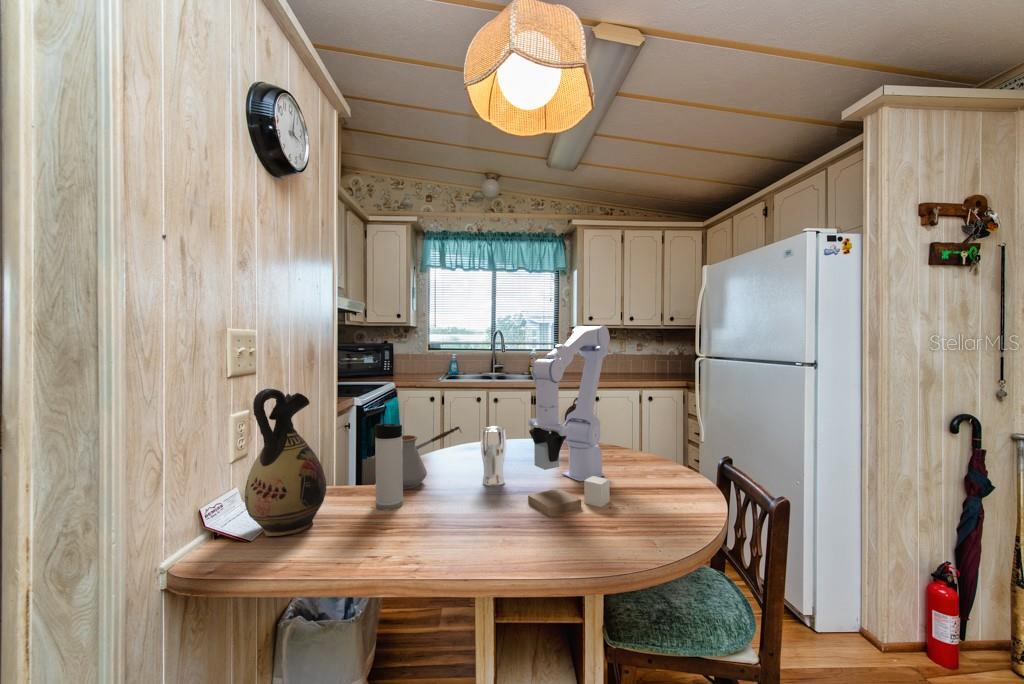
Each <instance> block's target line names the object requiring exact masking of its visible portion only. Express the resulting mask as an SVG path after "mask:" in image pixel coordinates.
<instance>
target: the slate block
mask: <svg viewBox="0 0 1024 684" xmlns="http://www.w3.org/2000/svg"><path fill="white" fill-rule="evenodd" d="M533 449H534V451H533V452H534V466H535V467H537V468H539V469H542V470H544V471H545V470H551V469H556V468H560V455H559V456H558V460H557V461H554V462H550V461H549V455H548V446H547V442H544V443H538V444H534V448H533Z"/></svg>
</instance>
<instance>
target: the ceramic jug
mask: <svg viewBox="0 0 1024 684" xmlns="http://www.w3.org/2000/svg"><path fill="white" fill-rule="evenodd" d="M271 399H275V405H274V407H273V408H272V410H271V413H270V414H269V415H268V416H267V415H266V414H267V413H266V410H265V403H266V402H267V401H268V400H271ZM310 403H311V402H310V400H309V398H308V397H306V395H304V394H303V393H300V392H296V393H295V394H292V395H291V394H290V393H287V394H286V395H285V393H283V391H281V390H279V389H276V388H264V389H262V390H260V392H258V393H257V394H256V395H255V397H254V398H253V404H252V405H253V406H252V408H253V409H252V410H253V415H254V417H255V421H256V423H257V425H258V428H259V432H260V434H261V435H262V437H263V438H262V439H263V446H262V449H260V452H259V453H258V455H257V457H256V459H254V460H255V461H253V464H252V466H251V468H250V471H249V473H248V476H247V479H246V484H245V490H244V506H245V510H246V512H247V513H248V515H249V517H250V518H251V519H252V520H253V521H255V522H256V523H257V524H258V525H259V526H260V527H261V528H262V529H263V531H264V535H265V536H266V537H274V536H278V537H279V536H284V535H285V536H286V535H293V534H294V535H295V534H298V533H300V532H302V531H305V530H307V529H310V528H312V527H313V526H314V522H313V521H314V519H315V516H316V515H317V513H318V511H319V510H320V508H321V507H322V505H323V503H324V501H325V500H324V499H325V496H326V494H327V479H326V475H325V471H324V469H323V465H322V463H321V461H320V459H319V457H317V456H318V455H316V453H315V452H314V451H313V449H312V448H311V447H310V445H309V444H308V443H307V441H305V439H304V438H303V437H302V436H301V435H300V434H299V433H298V431H297V430H296V429H295V428H294V423H293V419H292V418H293V416H295V415H296V414H297V413H298V412H300V411H302V410H303V409H304V408H306V407H307V406H309V405H310ZM268 419H269V420H271V421H275V422H274V427H273V429H272V427H271V424H270V422H269V420H268Z"/></svg>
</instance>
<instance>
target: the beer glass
mask: <svg viewBox="0 0 1024 684" xmlns="http://www.w3.org/2000/svg"><path fill="white" fill-rule="evenodd" d="M480 430H481V432H480V451H481V452H480V454H481V459H482V463H483V476H482V484H483V485H484V486H487V487H499V486H503V485H505V483H506V482H505V476H504V463H505V457H506V451H507V438H506V428H505V427H503V426H497V425H495V426H493V425H491V426H484V427H481V429H480Z"/></svg>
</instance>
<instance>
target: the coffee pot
mask: <svg viewBox="0 0 1024 684" xmlns="http://www.w3.org/2000/svg"><path fill="white" fill-rule="evenodd" d="M456 431H459V432H460V433H461V434H462V433H463V432H462V430H461V428H460V426H455V427H454V428H450V430H447V431H443V432H442V433H440V434H438V435H436V436H435V437H433V438H431V439H428V440H427V441H424V442H423V443H420V444H418V445H416V440H417V439H418V436H416V435H412V434H411V435H408V434H406V435H402V448H403V490H408V489H413V488H416V487H418V486H420V484H421V483H422V482H423V481H424V480H425V479H426V477H427V473H428V471H427V468H426V467H425V464H424V462H423V460H422V458H421V455H420V453H419V451H418V450H420V449H421V448H424V447H425V446H428V445H429V444H430V443H433V442H435V441H439V440H441V439H443V438H445V437H447V436H448V435H450V434H453V433H454V432H456Z"/></svg>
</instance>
